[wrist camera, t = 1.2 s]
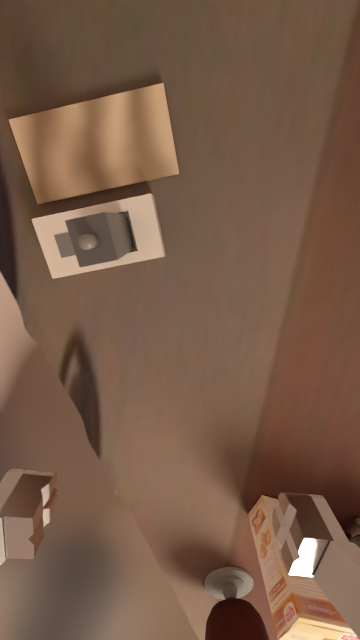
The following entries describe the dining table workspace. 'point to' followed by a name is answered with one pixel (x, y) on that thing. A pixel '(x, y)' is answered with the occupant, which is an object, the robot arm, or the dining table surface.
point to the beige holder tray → (135, 209)
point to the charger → (100, 237)
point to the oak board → (97, 144)
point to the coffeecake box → (292, 588)
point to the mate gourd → (232, 607)
